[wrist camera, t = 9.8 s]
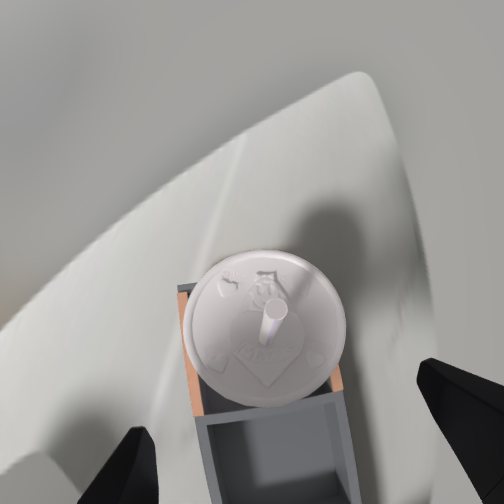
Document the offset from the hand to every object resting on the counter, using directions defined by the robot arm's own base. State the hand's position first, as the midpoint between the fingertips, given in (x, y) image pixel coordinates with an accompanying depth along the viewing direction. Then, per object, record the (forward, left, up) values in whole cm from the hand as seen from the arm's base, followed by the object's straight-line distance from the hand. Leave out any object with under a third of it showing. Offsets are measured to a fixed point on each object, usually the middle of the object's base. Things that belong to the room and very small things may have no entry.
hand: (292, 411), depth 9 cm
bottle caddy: (-5, 0, -12) cm, 13 cm away
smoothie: (+3, 0, -12) cm, 12 cm away
